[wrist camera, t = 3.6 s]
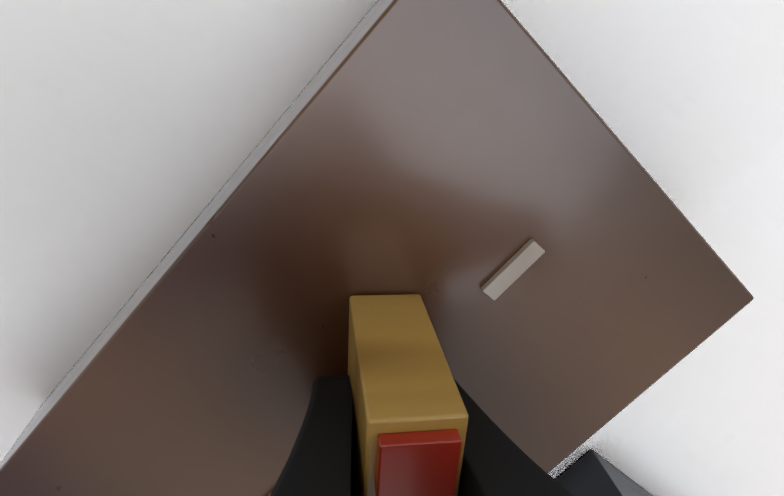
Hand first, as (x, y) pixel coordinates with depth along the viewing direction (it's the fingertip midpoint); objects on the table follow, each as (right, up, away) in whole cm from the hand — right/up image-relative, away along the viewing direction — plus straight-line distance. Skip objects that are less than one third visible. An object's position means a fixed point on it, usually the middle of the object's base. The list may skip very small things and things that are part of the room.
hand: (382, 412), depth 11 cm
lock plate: (0, +1, +3) cm, 3 cm away
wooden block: (0, 0, 0) cm, 0 cm away
